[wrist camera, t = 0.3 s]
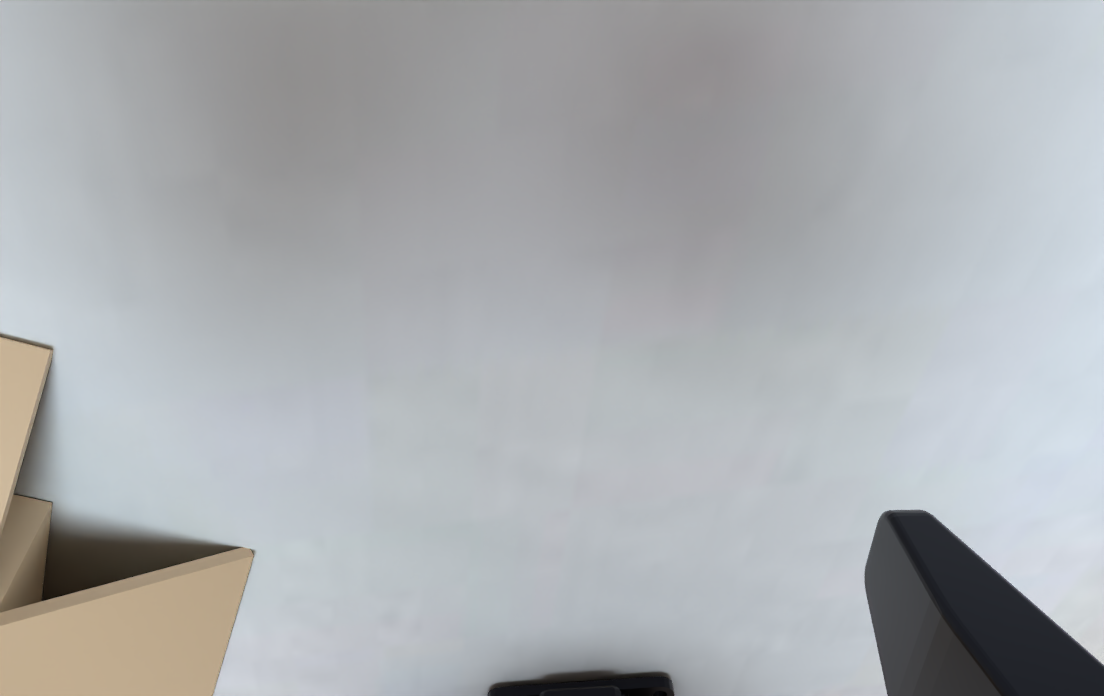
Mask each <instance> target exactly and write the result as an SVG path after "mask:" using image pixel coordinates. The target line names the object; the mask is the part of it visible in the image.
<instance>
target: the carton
mask: <svg viewBox="0 0 1104 696" xmlns="http://www.w3.org/2000/svg"><path fill="white" fill-rule="evenodd" d="M52 355H53V350H51V349H47V348H43V347H39V346H35V345H31V344H27V343H23V342H19V341H15V340H11V339H7V338H3V337H0V696H212V695H213V692H214V688H215V685H216V682H217V678H218V675H219V672H220V668H221V665H222V661H223V658H224V655H225V651H226V648H227V644H228V641H229V638H230V634H231V631H232V628H233V624H234V621H235V617H236V614H237V611H238V607H239V604H240V601H241V597H242V594H243V590H244V587H245V584H246V580H247V577H248V574H249V570H250V567H251V563H252V560H253V557H254V555H253V553H252V551H251V549H248V548H243V547H242V548H238V549H234V550H231V551H227V552H223V553H220V554H216V555H212V556H208V557H205V558H201V559H197V560H194V561H190V562H186V563H182V564H179V565H175V566H171V567H168V568H164V569H160V570H156V571H153V572H149V573H145V574H142V575H138V576H134V577H131V578H127V579H123V580H119V581H116V582H112V583H108V584H105V585H101V586H97V587H93V588H90V589H86V590H82V591H79V592H75V593H71V594H67V595H64V596H60V597H56V598H53V599H49V600H45V601H42V592H43V583H44V574H45V565H46V556H47V547H48V538H49V529H50V520H51V511H52V503H51V502H46V501H42V500H37V499H33V498H28V497H23V496H19V495H14V494H13V493H14V489H15V486H16V482H17V479H18V475H19V472H20V468H21V465H22V461H23V458H24V454H25V451H26V447H27V444H28V440H29V437H30V433H31V430H32V426H33V423H34V419H35V416H36V412H37V409H38V405H39V402H40V398H41V395H42V391H43V388H44V384H45V381H46V377H47V374H48V370H49V367H50V363H51V360H52Z"/></svg>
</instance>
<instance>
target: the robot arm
mask: <svg viewBox="0 0 1104 696" xmlns="http://www.w3.org/2000/svg"><path fill="white" fill-rule="evenodd" d="M865 589H866V595H867V600H868V604H869V609H870V614H871V619H872V623H873V628H874V633H875V637H876V642H877V647H878V652H879V656H880V661H881V666H882V671H883V675H884V680H885V685H886V690H887V694H888V696H1104V665H1103V664H1102V663H1101V662H1099V661H1098V660H1097V659H1096V658H1095V657H1094V656H1093V655H1091V654H1090V653H1089V652H1088V651H1087V650H1086V649H1085V648H1083V647H1082V646H1081V645H1080V644H1079V643H1078V642H1077V641H1076V640H1074V639H1073V638H1072V637H1071V636H1070V635H1069V634H1068V633H1066V632H1065V631H1064V630H1063V629H1062V628H1061V627H1060V626H1058V625H1057V624H1056V623H1055V622H1054V621H1053V620H1052V619H1050V618H1049V617H1048V616H1047V615H1046V614H1045V613H1044V612H1042V611H1041V610H1040V609H1039V608H1038V607H1037V606H1036V605H1034V604H1033V603H1032V602H1031V601H1030V600H1029V599H1028V598H1026V597H1025V596H1024V595H1023V594H1022V593H1021V592H1020V591H1018V590H1017V589H1016V588H1015V587H1014V586H1013V585H1012V584H1010V583H1009V582H1008V581H1007V580H1006V579H1005V578H1004V577H1002V576H1001V575H1000V574H999V573H998V572H997V571H996V570H995V569H993V568H992V567H991V566H990V565H989V564H988V563H987V562H985V561H984V560H983V559H982V558H981V557H980V556H979V555H977V554H976V553H975V552H974V551H973V550H972V549H971V548H969V547H968V546H967V545H966V544H965V543H964V542H963V541H961V540H960V539H959V538H958V537H957V536H956V535H955V534H953V533H952V532H951V531H950V530H949V529H948V528H947V527H945V526H944V525H943V524H942V523H941V522H940V521H939V520H937V519H936V518H935V517H934V516H933V515H931V514H930V513H928V512H926V511H923V510H889V511H886V512H884V513H883V514H882V515H881V516H880V518H879V520H878V523H877V527H876V530H875V534H874V537H873V541H872V545H871V548H870V552H869V555H868V559H867V563H866V567H865ZM488 696H674V690H673V683H672V681H671V680H670V679H669V678H666V677H644V678H630V679H615V680H600V681H586V682H571V683H556V684H542V685H527V686H513V687H499V688H495V689H493V690H491V691H490V692H489V693H488Z"/></svg>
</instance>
